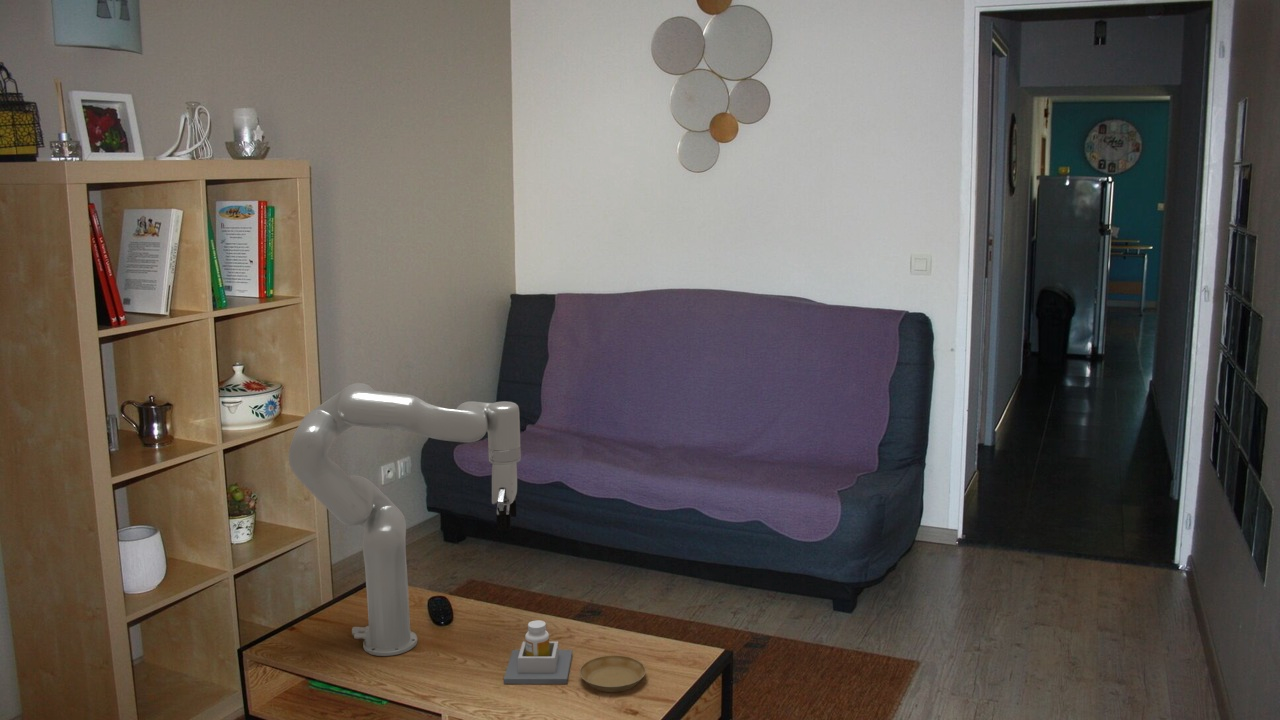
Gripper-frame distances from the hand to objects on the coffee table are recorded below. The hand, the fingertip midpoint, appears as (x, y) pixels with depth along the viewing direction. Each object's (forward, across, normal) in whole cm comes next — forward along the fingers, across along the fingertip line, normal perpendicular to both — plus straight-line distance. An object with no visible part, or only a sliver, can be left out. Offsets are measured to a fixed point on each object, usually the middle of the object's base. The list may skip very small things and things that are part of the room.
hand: (507, 523), depth 246 cm
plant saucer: (+29, +23, +26) cm, 45 cm away
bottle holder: (+28, +18, +9) cm, 35 cm away
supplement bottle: (+27, +18, +9) cm, 34 cm away
